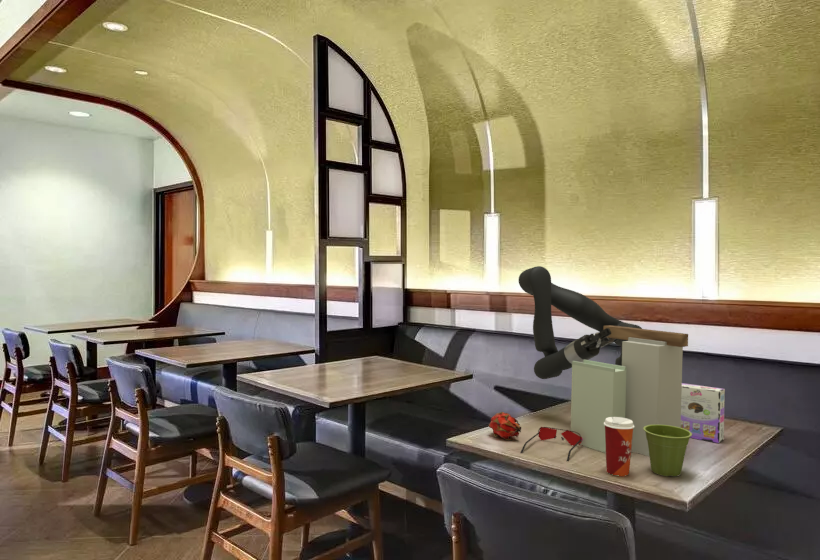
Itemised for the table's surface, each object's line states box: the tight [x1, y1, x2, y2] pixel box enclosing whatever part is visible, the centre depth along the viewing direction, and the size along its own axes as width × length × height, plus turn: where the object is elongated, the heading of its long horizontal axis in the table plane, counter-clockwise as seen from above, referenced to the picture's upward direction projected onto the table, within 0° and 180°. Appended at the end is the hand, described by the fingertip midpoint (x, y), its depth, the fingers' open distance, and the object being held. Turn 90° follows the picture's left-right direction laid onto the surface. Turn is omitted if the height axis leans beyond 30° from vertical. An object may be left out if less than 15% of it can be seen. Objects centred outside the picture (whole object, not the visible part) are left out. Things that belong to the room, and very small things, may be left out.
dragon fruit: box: [488, 411, 522, 441], centre depth 186 cm, size 8×8×12 cm
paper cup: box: [604, 417, 635, 477], centre depth 156 cm, size 8×8×14 cm
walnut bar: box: [603, 325, 689, 348], centre depth 177 cm, size 4×26×4 cm, turn 35°
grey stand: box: [622, 337, 684, 458], centre depth 175 cm, size 12×12×33 cm
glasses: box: [520, 426, 583, 462], centre depth 175 cm, size 14×16×5 cm
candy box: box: [681, 382, 726, 444], centre depth 189 cm, size 14×6×16 cm, turn 47°
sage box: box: [570, 359, 626, 454], centre depth 178 cm, size 6×15×25 cm, turn 35°
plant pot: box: [643, 424, 692, 477], centre depth 156 cm, size 12×12×11 cm
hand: (618, 329), depth 185 cm, fingers open, 8 cm apart
